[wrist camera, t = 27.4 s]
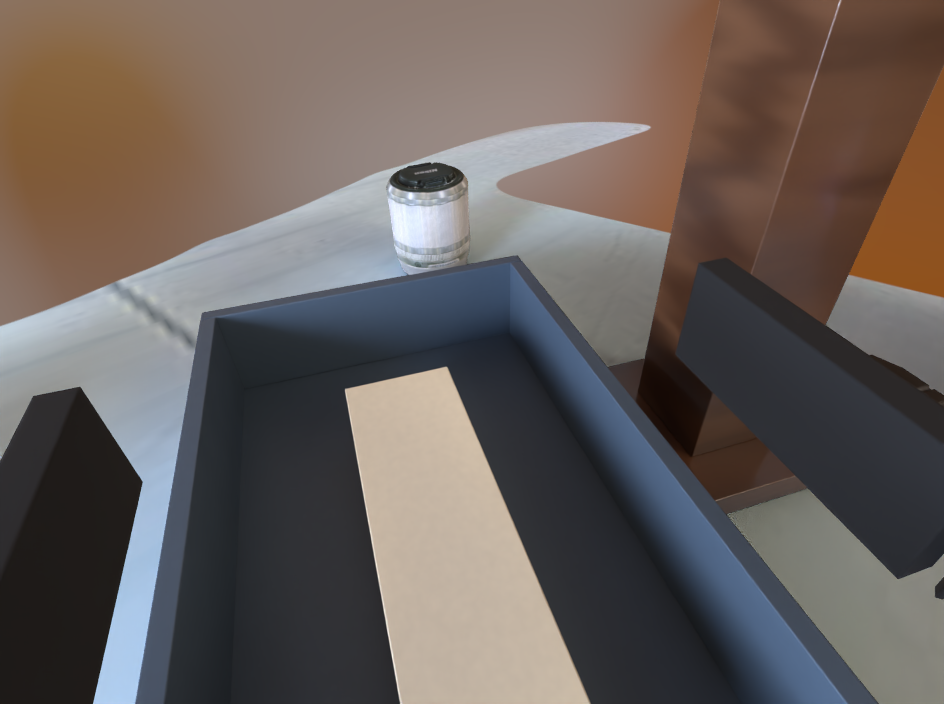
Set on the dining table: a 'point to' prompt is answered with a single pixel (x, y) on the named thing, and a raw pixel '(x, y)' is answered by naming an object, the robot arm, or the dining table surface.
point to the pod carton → (451, 555)
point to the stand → (781, 193)
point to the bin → (520, 482)
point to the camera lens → (429, 217)
